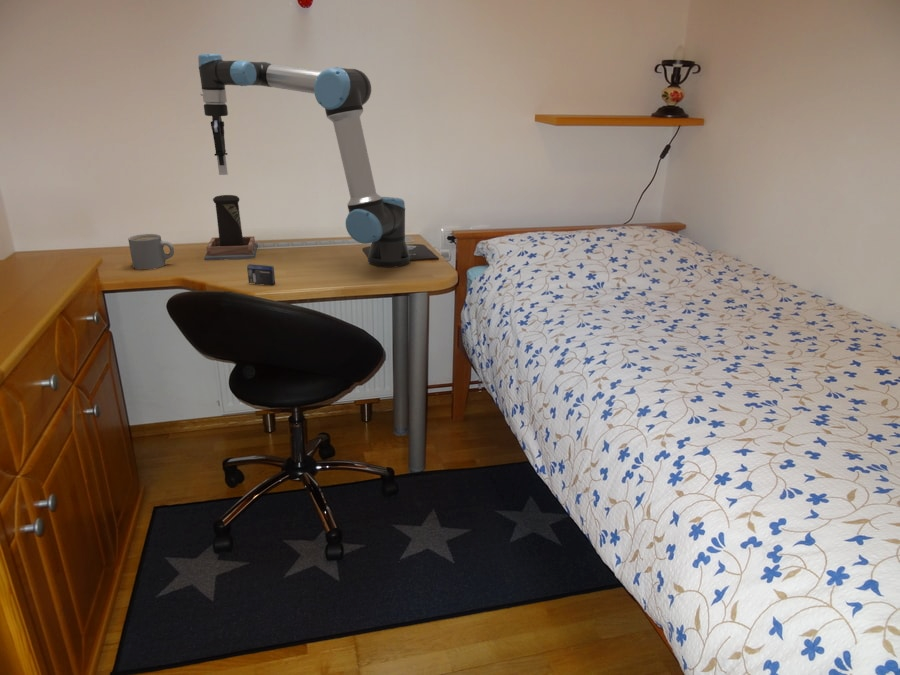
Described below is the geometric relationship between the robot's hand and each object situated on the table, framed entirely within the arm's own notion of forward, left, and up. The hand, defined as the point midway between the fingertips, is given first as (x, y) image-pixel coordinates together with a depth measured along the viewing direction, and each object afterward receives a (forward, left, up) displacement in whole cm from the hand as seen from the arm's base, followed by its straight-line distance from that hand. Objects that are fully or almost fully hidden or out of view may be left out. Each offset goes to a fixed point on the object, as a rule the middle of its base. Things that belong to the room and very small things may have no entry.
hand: (223, 174), depth 219 cm
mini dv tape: (-41, -13, -29) cm, 52 cm away
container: (0, 0, -28) cm, 28 cm away
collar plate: (0, 0, -28) cm, 28 cm away
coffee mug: (-15, +24, -29) cm, 40 cm away
